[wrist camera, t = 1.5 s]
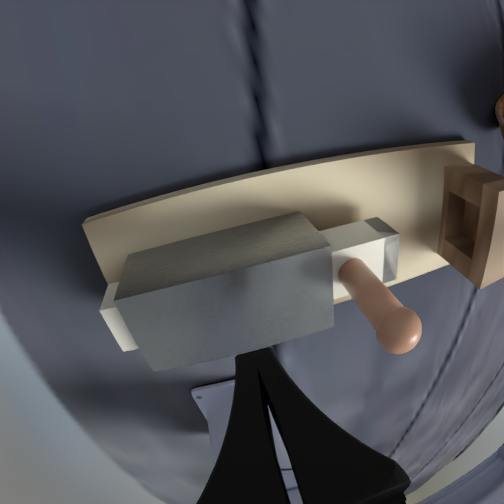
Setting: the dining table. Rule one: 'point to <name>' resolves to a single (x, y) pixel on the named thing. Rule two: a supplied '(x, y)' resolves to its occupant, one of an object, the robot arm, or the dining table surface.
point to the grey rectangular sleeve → (227, 291)
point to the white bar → (340, 285)
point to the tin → (500, 113)
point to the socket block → (473, 223)
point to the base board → (298, 204)
